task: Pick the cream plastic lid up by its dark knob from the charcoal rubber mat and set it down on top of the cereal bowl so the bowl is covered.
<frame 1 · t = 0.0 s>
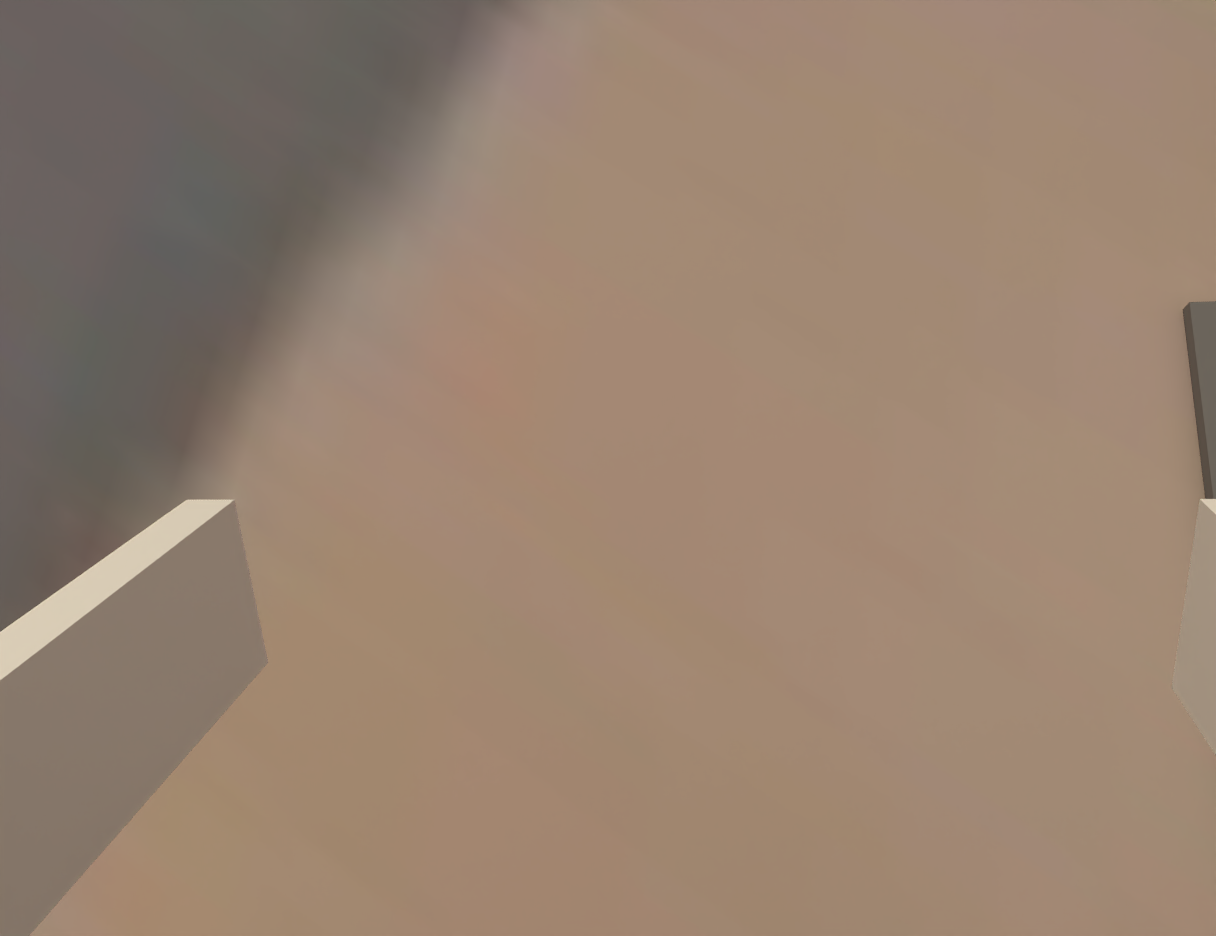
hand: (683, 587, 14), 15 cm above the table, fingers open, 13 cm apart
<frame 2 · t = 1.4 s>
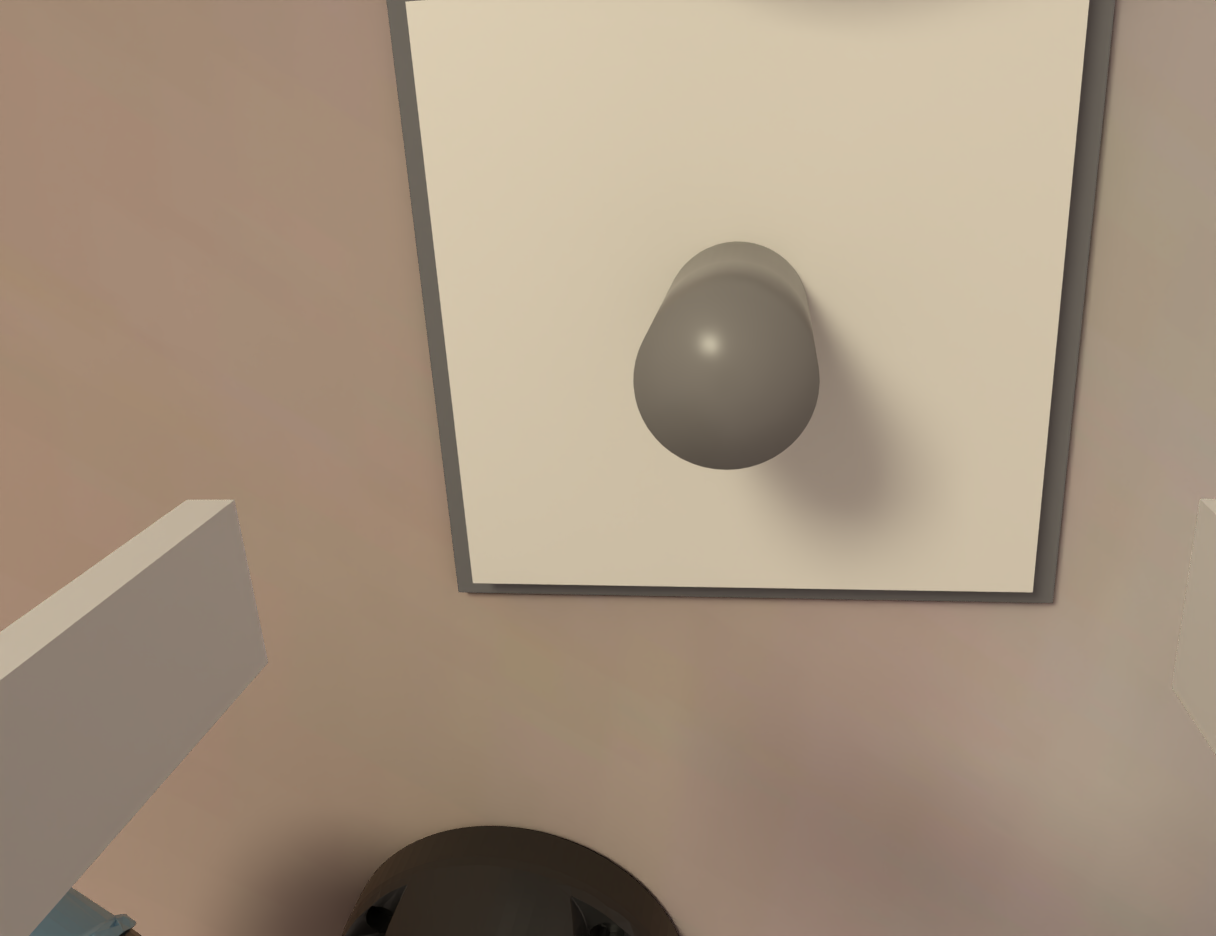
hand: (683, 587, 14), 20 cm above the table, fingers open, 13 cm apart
mat: (738, 302, 33), on the table
lid: (737, 305, 33), resting on mat
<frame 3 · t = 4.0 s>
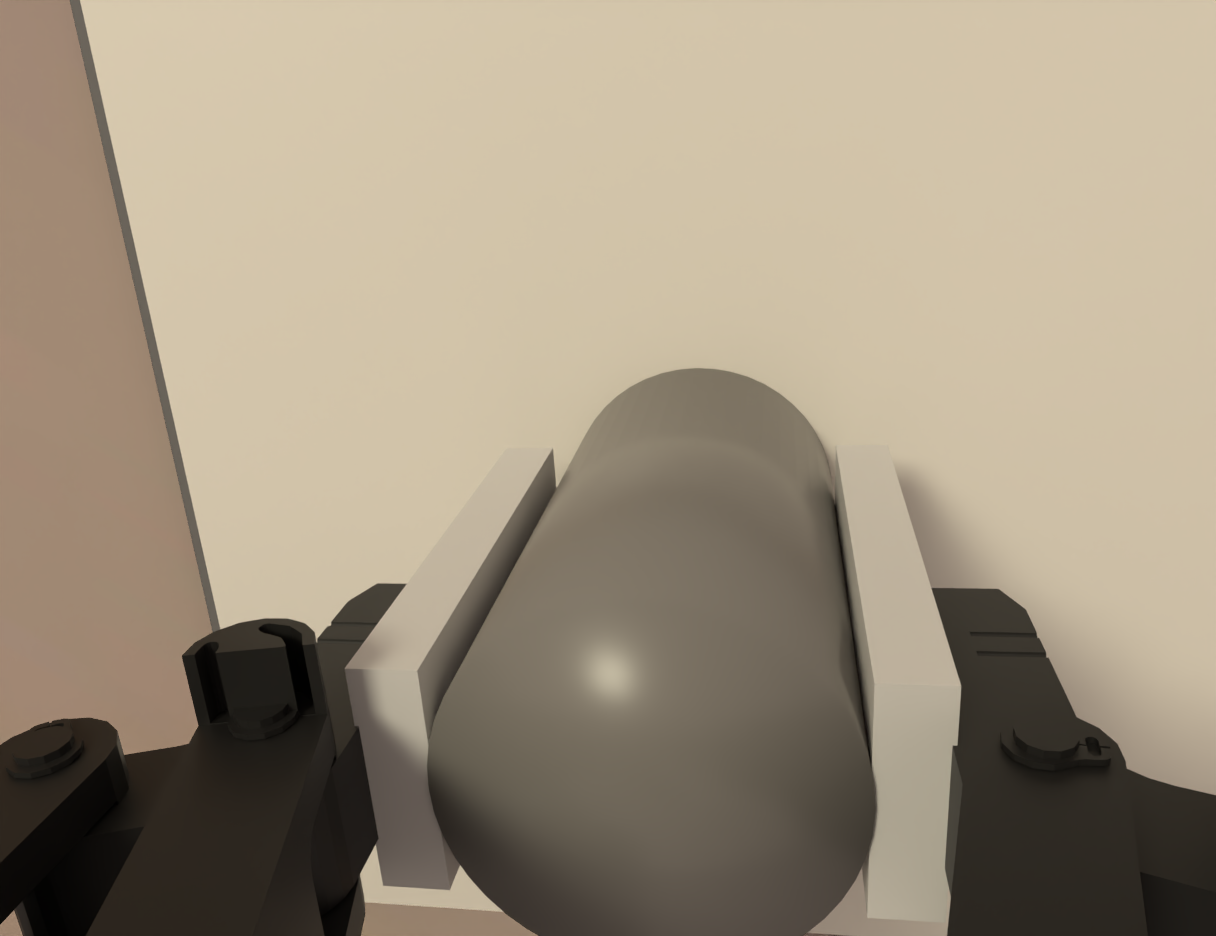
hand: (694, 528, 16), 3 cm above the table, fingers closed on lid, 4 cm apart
mat: (706, 458, 19), on the table
lid: (705, 468, 18), resting on mat, touching gripper
when the fingers open (11 cm above the table, at t = 9.7 s): lid drops 1 cm, resting on cereal bowl.
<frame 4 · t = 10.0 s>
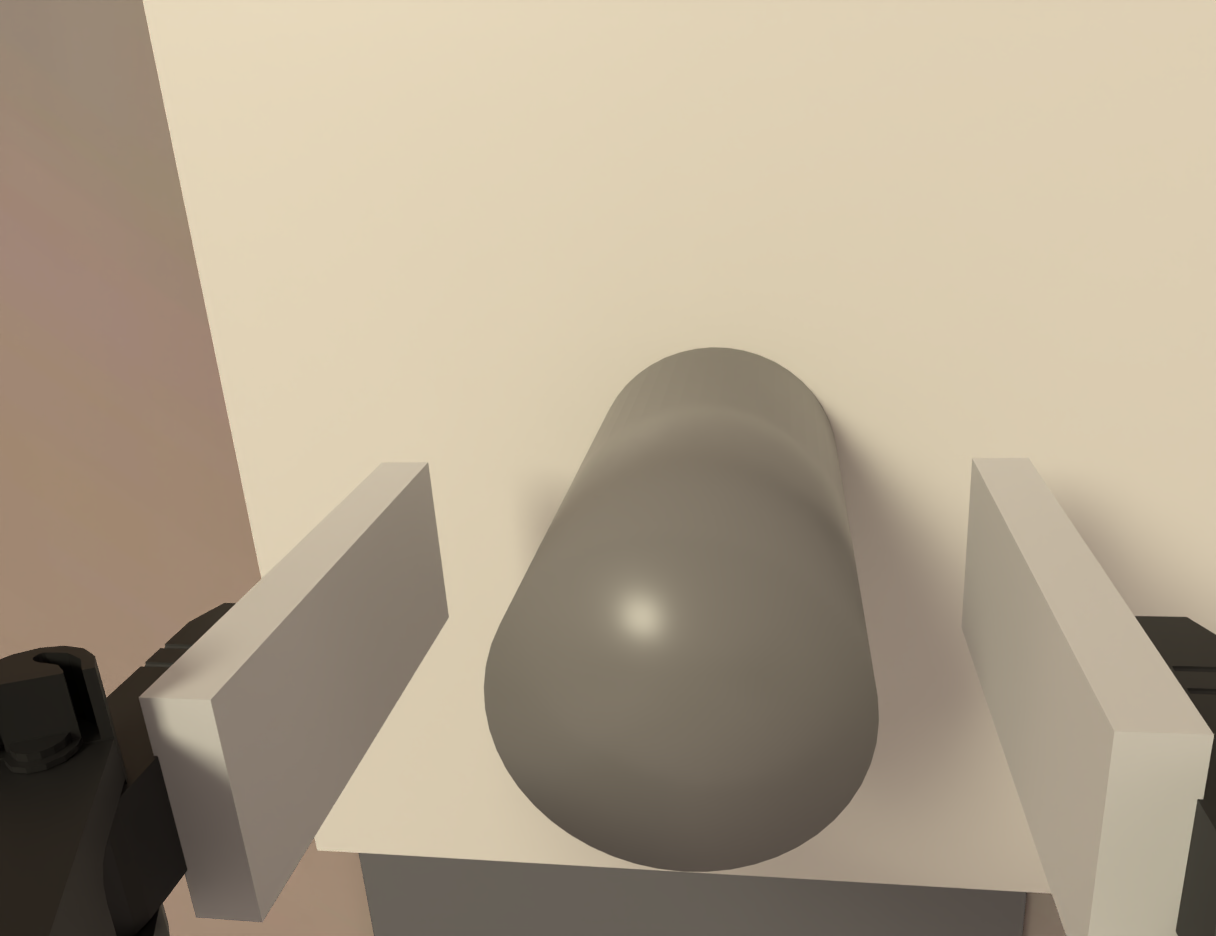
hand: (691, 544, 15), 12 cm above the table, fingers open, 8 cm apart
lid: (718, 442, 20), point 7 cm above the table, touching cereal bowl
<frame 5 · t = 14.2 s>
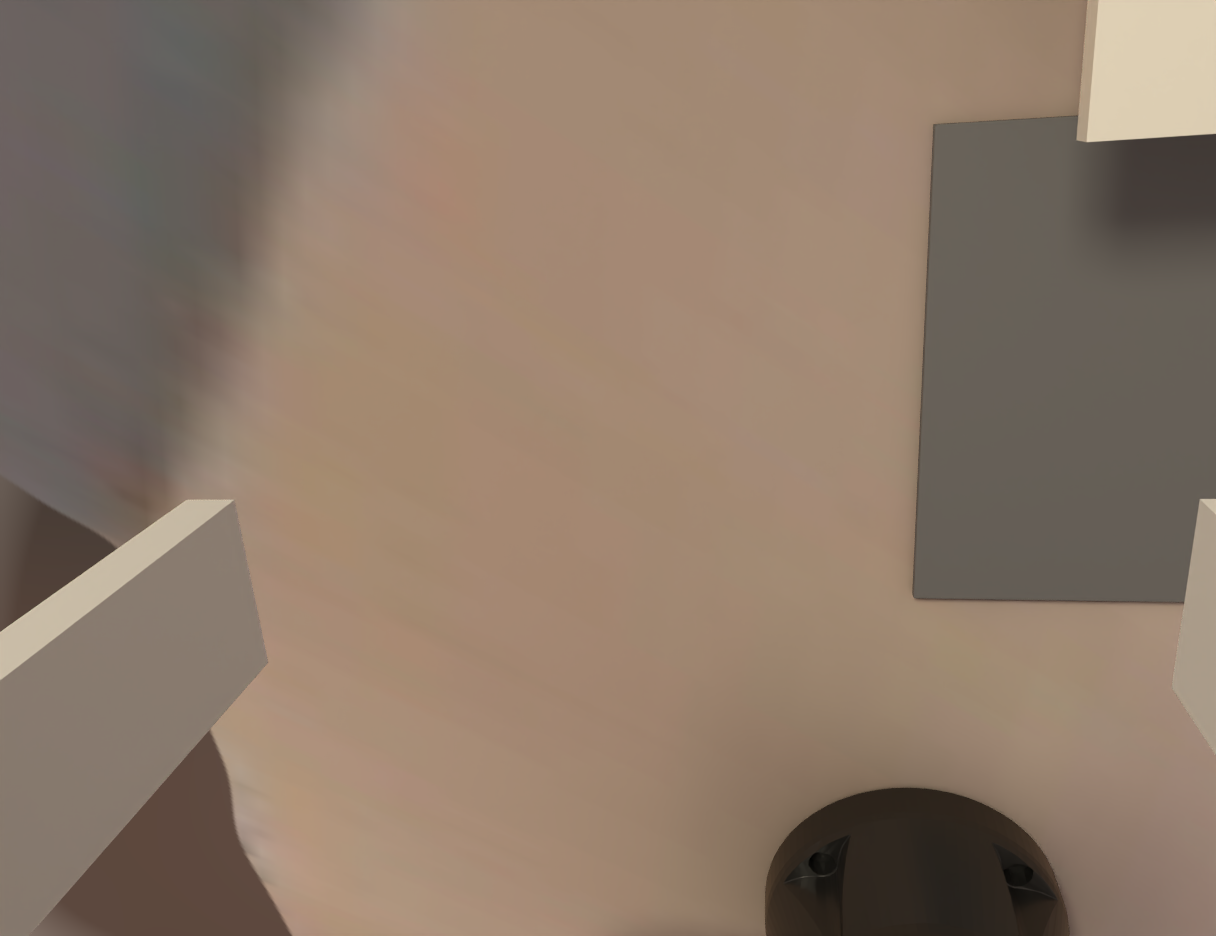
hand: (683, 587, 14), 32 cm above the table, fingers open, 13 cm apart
mat: (1182, 372, 42), on the table
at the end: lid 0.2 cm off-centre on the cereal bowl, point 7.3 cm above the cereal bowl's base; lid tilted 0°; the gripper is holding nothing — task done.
